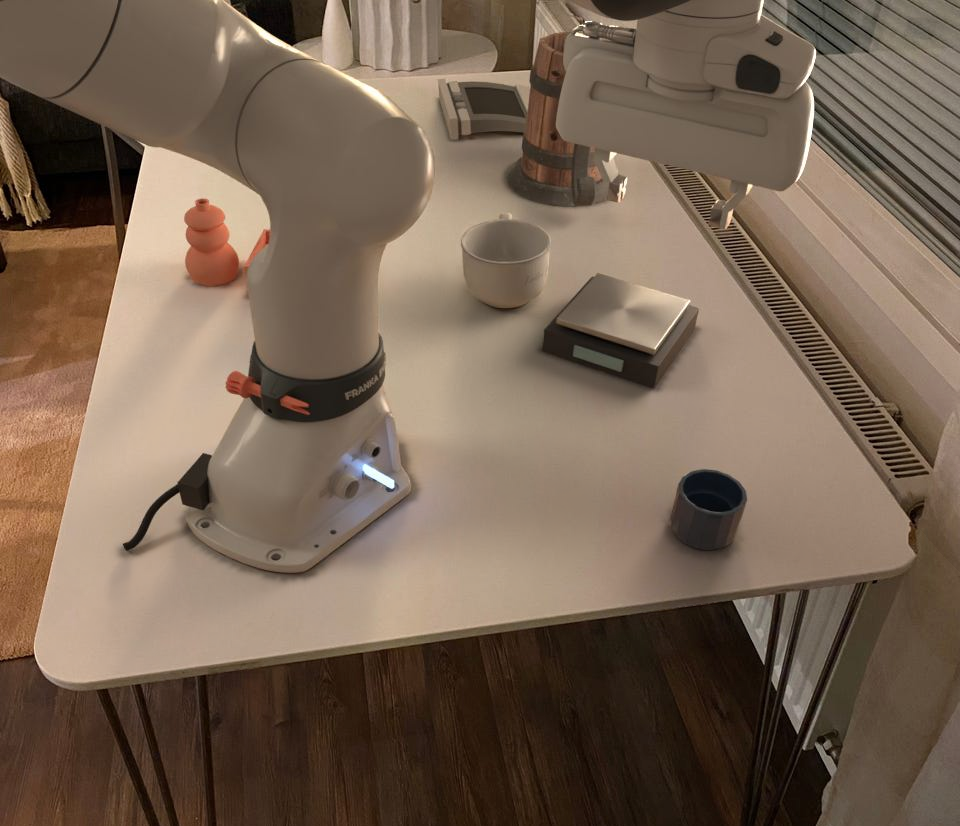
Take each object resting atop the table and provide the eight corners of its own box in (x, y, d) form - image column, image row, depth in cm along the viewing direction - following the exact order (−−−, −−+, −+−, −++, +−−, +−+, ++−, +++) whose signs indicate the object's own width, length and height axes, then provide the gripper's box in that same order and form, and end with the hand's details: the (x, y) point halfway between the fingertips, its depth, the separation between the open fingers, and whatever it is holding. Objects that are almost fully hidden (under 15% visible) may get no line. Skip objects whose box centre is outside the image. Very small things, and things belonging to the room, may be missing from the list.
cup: (723, 562, 89) (735, 524, 86) (660, 538, 91) (669, 499, 88) (743, 521, 93) (755, 483, 90) (682, 499, 95) (691, 461, 92)
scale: (653, 389, 108) (657, 367, 106) (540, 352, 113) (542, 330, 111) (694, 329, 118) (699, 308, 116) (589, 297, 122) (592, 276, 120)
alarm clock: (437, 79, 166) (531, 70, 167) (439, 106, 169) (531, 97, 171) (449, 119, 154) (550, 109, 155) (451, 147, 157) (550, 137, 158)
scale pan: (653, 355, 107) (655, 349, 107) (555, 324, 111) (556, 318, 110) (689, 305, 115) (690, 300, 114) (596, 278, 119) (597, 272, 118)
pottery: (336, 264, 126) (331, 192, 119) (320, 302, 119) (314, 229, 112) (200, 253, 127) (187, 181, 120) (177, 290, 120) (162, 217, 113)
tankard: (498, 158, 152) (505, 22, 138) (602, 155, 154) (619, 22, 140) (524, 229, 135) (536, 83, 121) (641, 225, 137) (665, 81, 123)
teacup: (538, 324, 117) (543, 265, 112) (451, 311, 118) (452, 253, 113) (554, 268, 127) (560, 211, 122) (474, 257, 129) (476, 200, 123)
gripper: (550, 27, 74) (538, 197, 83) (818, 80, 67) (772, 258, 77) (582, 5, 78) (567, 169, 87) (838, 53, 71) (791, 225, 81)
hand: (665, 211), depth 82 cm, fingers open, 8 cm apart
